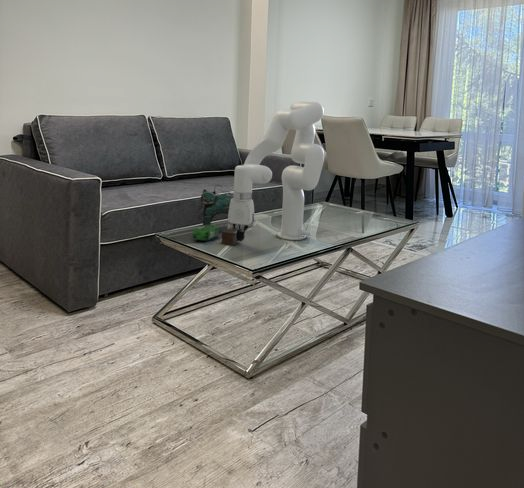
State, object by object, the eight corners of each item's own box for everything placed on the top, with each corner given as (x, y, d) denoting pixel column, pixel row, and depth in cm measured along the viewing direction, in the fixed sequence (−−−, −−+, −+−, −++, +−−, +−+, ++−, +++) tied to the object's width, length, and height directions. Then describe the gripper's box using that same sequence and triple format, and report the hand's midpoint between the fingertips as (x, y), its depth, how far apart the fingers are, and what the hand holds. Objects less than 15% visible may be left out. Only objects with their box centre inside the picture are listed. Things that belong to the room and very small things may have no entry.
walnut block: (237, 242, 206) (238, 230, 206) (232, 245, 202) (233, 233, 201) (226, 240, 208) (227, 229, 208) (221, 243, 204) (222, 231, 203)
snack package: (189, 242, 203) (189, 229, 203) (206, 233, 218) (206, 222, 218) (204, 244, 201) (205, 232, 201) (220, 236, 216) (221, 224, 215)
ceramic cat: (199, 228, 226) (201, 185, 225) (199, 225, 233) (200, 183, 232) (242, 229, 230) (244, 186, 228) (241, 226, 236) (243, 184, 235)
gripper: (222, 195, 201) (219, 239, 202) (256, 199, 196) (253, 245, 197) (229, 192, 208) (227, 236, 209) (263, 196, 203) (260, 241, 204)
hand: (240, 240), depth 203 cm, fingers closed
